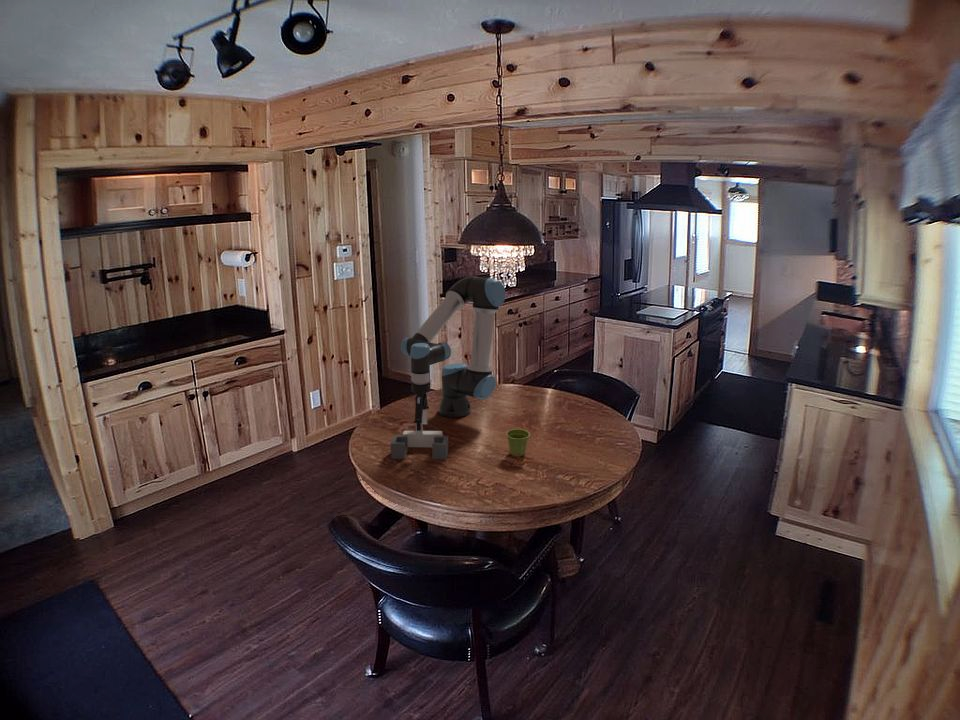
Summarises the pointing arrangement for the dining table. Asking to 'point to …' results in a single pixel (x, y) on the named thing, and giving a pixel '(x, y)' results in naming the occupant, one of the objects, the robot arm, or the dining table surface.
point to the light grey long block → (421, 442)
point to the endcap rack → (401, 447)
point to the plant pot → (517, 441)
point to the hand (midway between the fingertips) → (421, 430)
